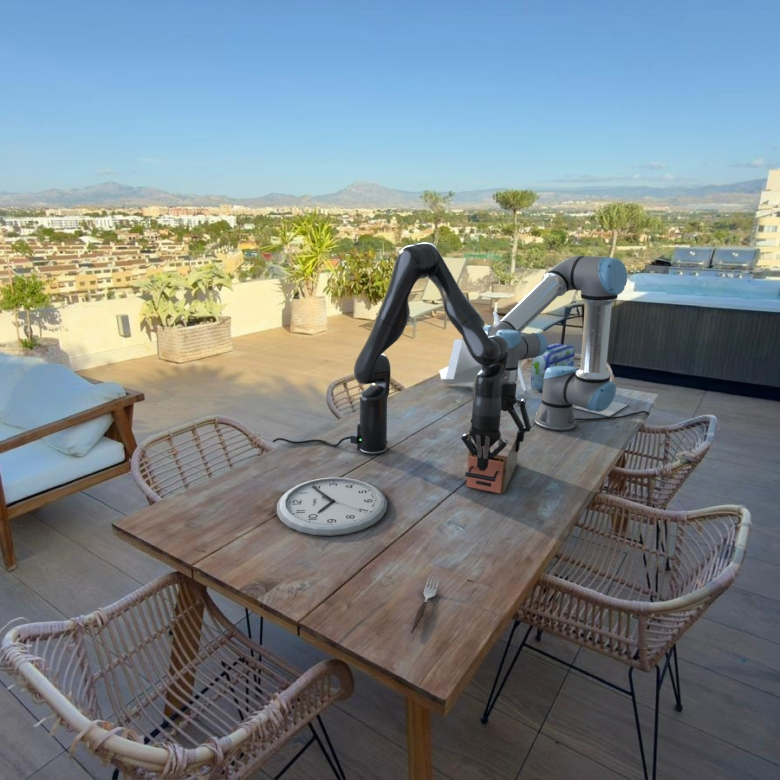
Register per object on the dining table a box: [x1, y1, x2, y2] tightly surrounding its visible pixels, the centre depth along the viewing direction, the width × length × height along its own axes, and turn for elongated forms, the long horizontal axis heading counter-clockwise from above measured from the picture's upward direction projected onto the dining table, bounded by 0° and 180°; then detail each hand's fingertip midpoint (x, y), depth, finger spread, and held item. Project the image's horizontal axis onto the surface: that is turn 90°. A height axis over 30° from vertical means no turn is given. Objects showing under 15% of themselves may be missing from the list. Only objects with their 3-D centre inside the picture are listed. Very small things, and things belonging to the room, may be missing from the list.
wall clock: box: [276, 476, 388, 537], centre depth 142 cm, size 30×2×30 cm
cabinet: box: [468, 427, 519, 494], centre depth 161 cm, size 21×11×11 cm, turn 157°
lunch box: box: [530, 343, 576, 391], centre depth 249 cm, size 26×11×21 cm, turn 134°
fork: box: [410, 574, 440, 634], centre depth 104 cm, size 3×16×2 cm, turn 160°
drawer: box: [464, 455, 504, 494], centre depth 155 cm, size 26×10×9 cm, turn 157°
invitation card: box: [573, 400, 629, 417], centre depth 226 cm, size 21×1×15 cm
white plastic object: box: [438, 310, 531, 399], centre depth 245 cm, size 37×45×31 cm
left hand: (482, 469), depth 145 cm, fingers closed
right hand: (498, 447), depth 166 cm, fingers closed on cabinet, 11 cm apart
